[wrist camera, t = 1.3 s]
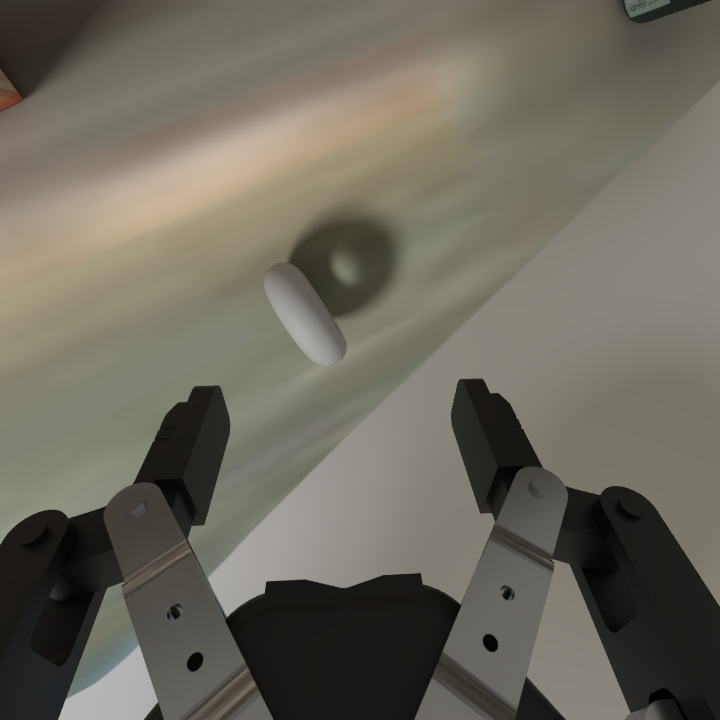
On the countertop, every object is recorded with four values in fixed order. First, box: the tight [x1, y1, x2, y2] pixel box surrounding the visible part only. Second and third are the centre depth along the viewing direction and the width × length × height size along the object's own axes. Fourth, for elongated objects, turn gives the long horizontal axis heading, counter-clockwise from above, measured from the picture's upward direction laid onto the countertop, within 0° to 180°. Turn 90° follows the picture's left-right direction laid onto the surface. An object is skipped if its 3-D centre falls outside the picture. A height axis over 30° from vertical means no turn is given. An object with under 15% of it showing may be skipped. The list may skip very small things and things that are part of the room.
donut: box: [264, 262, 347, 366], centre depth 33 cm, size 10×3×10 cm, turn 29°
